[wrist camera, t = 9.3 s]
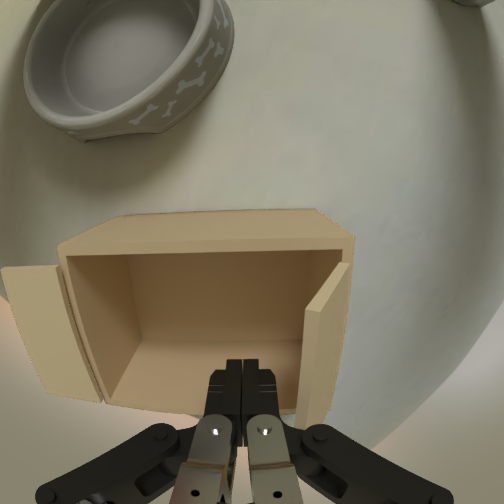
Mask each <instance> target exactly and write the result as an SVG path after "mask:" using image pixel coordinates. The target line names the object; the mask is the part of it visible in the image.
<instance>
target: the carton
mask: <svg viewBox="0 0 504 504" xmlns="http://www.w3.org/2000/svg"><path fill="white" fill-rule="evenodd" d="M354 243H355V237H354V236H353V235H351V234H350V233H349V232H347V231H346V230H345V229H343V228H342V227H340V226H339V225H338V224H336V223H335V222H333V221H332V220H331V219H329V218H328V217H326V216H325V215H324V214H322V213H321V212H319V211H318V210H316V209H262V210H225V211H199V212H178V213H159V214H143V215H129V216H118V217H116V218H114V219H111V220H109V221H107V222H105V223H102V224H100V225H98V226H96V227H94V228H92V229H90V230H88V231H85V232H83V233H81V234H79V235H77V236H75V237H73V238H71V239H69V240H67V241H65V242H63V243H61V244H59V245H57V252H58V257H59V262H60V267H61V271H62V276H63V280H64V285H65V289H66V293H67V296H68V300H69V304H70V308H71V311H72V315H73V318H74V321H75V325H76V328H77V331H78V334H79V337H80V340H81V343H82V346H83V349H84V352H85V354H86V357H87V360H88V362H89V365H90V368H91V370H92V373H93V375H94V378H95V380H96V382H97V385H98V387H99V389H100V392H101V394H102V396H103V398H104V400H105V403H106V404H110V405H116V406H121V407H128V408H135V409H142V410H150V411H157V412H167V413H177V414H190V415H204V410H205V404H206V398H207V392H208V386H209V380H210V376H211V375H212V373H213V372H214V371H215V370H216V369H225V370H226V360H227V359H242V364H243V359H259V369H271V371H272V372H273V373H274V375H275V377H276V386H277V395H278V404H279V413H280V415H288V414H296V407H297V398H298V388H299V378H300V368H301V356H302V344H303V331H304V317H305V309H306V307H307V306H308V305H309V303H310V302H311V301H312V299H313V298H314V297H315V295H316V294H317V293H318V291H319V290H320V289H321V287H322V286H323V284H324V283H325V282H326V280H327V279H328V278H329V276H330V275H331V273H332V272H333V271H334V269H335V268H336V266H337V265H338V263H339V262H343V263H350V267H349V278H348V287H347V297H346V305H345V313H344V321H343V328H342V335H341V341H340V348H339V354H338V360H337V365H336V371H335V376H334V382H333V387H332V392H331V397H330V401H329V406H328V411H329V410H330V407H331V403H332V398H333V393H334V389H335V384H336V379H337V374H338V368H339V363H340V357H341V351H342V345H343V339H344V333H345V326H346V319H347V312H348V304H349V296H350V287H351V277H352V267H353V256H354Z"/></svg>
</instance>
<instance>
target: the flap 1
mask: <svg viewBox="0 0 504 504" xmlns="http://www.w3.org/2000/svg"><path fill="white" fill-rule="evenodd" d="M0 271H1V275H2V279H3V282H4V286H5V290H6V293H7V296H8V300H9V303H10V306H11V309H12V312H13V315H14V318H15V321H16V324H17V326H18V329H19V332H20V334H21V337H22V340H23V342H24V344H25V347H26V349H27V352H28V354H29V356H30V358H31V361H32V363H33V365H34V367H35V369H36V371H37V374H38V376H39V378H40V380H41V382H42V384H43V386H44V388H45V390H46V391H47V393H48V394H52V395H57V396H62V397H67V398H73V399H78V400H85V401H92V402H98V403H101V402H102V400H103V397H102V395H101V393H100V390H99V388H98V386H97V383H96V381H95V378H94V376H93V374H92V371H91V368H90V366H89V363H88V361H87V358H86V355H85V353H84V350H83V347H82V344H81V341H80V338H79V335H78V332H77V329H76V326H75V323H74V319H73V316H72V312H71V309H70V305H69V302H68V298H67V294H66V290H65V286H64V282H63V278H62V273H61V269H60V265H42V266H16V267H4V268H2V269H0Z"/></svg>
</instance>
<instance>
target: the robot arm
mask: <svg viewBox="0 0 504 504" xmlns="http://www.w3.org/2000/svg"><path fill="white" fill-rule="evenodd" d="M454 1H455V2H457V3H459V4H461V5H465V6H473V5H477V6H479V7H483V6H485V5H487V4H489V3H491V2H493V1H495V0H454ZM243 440H244V447H248V461H249V471H250V481H251V489H252V499H253V503H249V504H303V500H302V495H301V491H300V487H299V483H298V478H297V475H298V477H299V478H301V479H302V480H303V481H304V482H306V483H307V484H308V485H310V486H311V487H312V488H314V489H315V490H317V491H318V492H319V493H321V494H322V495H324V496H325V497H326V498H328V499H329V500H331V501H332V502H334V503H336V504H454V499H453V495H452V494H451V492H450V491H449V490H447V489H445V488H443V487H441V486H439V485H436V484H434V483H432V482H430V481H428V480H426V479H424V478H422V477H419V476H417V475H415V474H413V473H411V472H409V471H407V470H406V469H403V468H401V467H400V466H398V465H396V464H394V463H392V462H390V461H388V460H387V459H385V458H383V457H381V456H379V455H378V454H376V453H374V452H372V451H371V450H369V449H367V448H365V447H364V446H362V445H360V444H359V443H357V442H355V441H354V440H352V439H350V438H349V437H347V436H346V435H344V434H342V433H341V432H339V431H337V430H336V429H334V428H333V427H331V426H329V425H325V424H315V425H312V426H310V427H308V428H307V429H306V430H303V429H297V428H293V427H290V426H288V425H286V424H285V423H284V422H283V421H282V420H281V418H280V413H279V404H278V395H277V386H276V377H275V375H274V373H273V372H272V371H271V369H259V359H243V364H242V359H227V360H226V370H225V369H216V370H215V371H214V372H213V373H212V375H211V376H210V380H209V386H208V392H207V398H206V404H205V410H204V415H203V418H202V419H201V420H200V421H199V422H198V424H197V425H195V426H193V427H191V428H186V429H181V430H176V429H175V428H174V427H173V426H171V425H169V424H165V423H158V424H154V425H151V426H150V427H148V428H147V429H145V430H143V431H142V432H140V433H138V434H137V435H135V436H133V437H132V438H130V439H129V440H127V441H125V442H123V443H122V444H120V445H118V446H116V447H115V448H113V449H111V450H110V451H108V452H106V453H104V454H102V455H101V456H99V457H97V458H95V459H93V460H92V461H90V462H88V463H86V464H84V465H82V466H80V467H78V468H76V469H74V470H72V471H70V472H68V473H66V474H64V475H62V476H60V477H58V478H56V479H54V480H52V481H50V482H48V483H45V484H43V485H41V486H40V487H39V488H38V489H37V491H36V494H35V499H36V502H37V504H148V503H150V502H151V501H153V500H154V499H156V498H157V497H158V496H160V495H161V494H163V493H164V492H166V491H167V490H169V489H170V488H171V487H173V486H174V489H173V492H172V496H171V499H170V503H169V504H231V501H232V500H231V495H232V488H233V480H234V473H235V466H236V457H237V447H242V446H243Z"/></svg>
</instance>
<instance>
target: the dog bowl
mask: <svg viewBox="0 0 504 504" xmlns="http://www.w3.org/2000/svg"><path fill="white" fill-rule="evenodd" d="M88 2H89V4H88ZM233 43H234V22H233V17H232V14H231V11H230V9H229V7H228V5H227V3H226V2H225V0H91V1H90V0H55V1H54V2H53V3H52V4H51V5H50V7H49V8H48V9H47V11H46V12H45V13H44V15H43V16H42V18H41V19H40V21H39V23H38V24H37V26H36V28H35V30H34V32H33V34H32V36H31V39H30V41H29V44H28V47H27V50H26V54H25V59H24V64H23V84H24V90H25V94H26V97H27V100H28V102H29V104H30V105H31V107H32V109H33V110H34V111H35V112H36V114H37V115H38V116H39V117H41V118H42V119H43V120H44V121H46V122H47V123H49V124H51V125H53V126H55V127H57V128H58V129H60V130H62V131H64V132H65V133H67V134H68V135H70V136H71V137H73V138H75V139H77V140H79V141H81V142H84V143H86V142H85V141H86V140H90V139H98V138H104V137H110V136H117V135H122V134H129V133H146V132H147V133H162V132H164V131H166V130H167V129H169V128H171V127H172V126H174V125H175V124H177V123H178V122H179V121H181V120H182V119H183V118H185V117H186V116H187V115H188V114H189V113H190V112H191V111H192V110H193V109H195V108H196V107H197V106H198V105H199V104H200V102H201V101H202V100H203V99H204V98H205V97H206V96H207V95H208V94H209V92H210V91H211V90H212V89H213V87H214V86H215V85H216V83H217V82H218V80H219V79H220V77H221V75H222V74H223V72H224V70H225V68H226V66H227V63H228V61H229V58H230V55H231V52H232V48H233Z"/></svg>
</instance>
